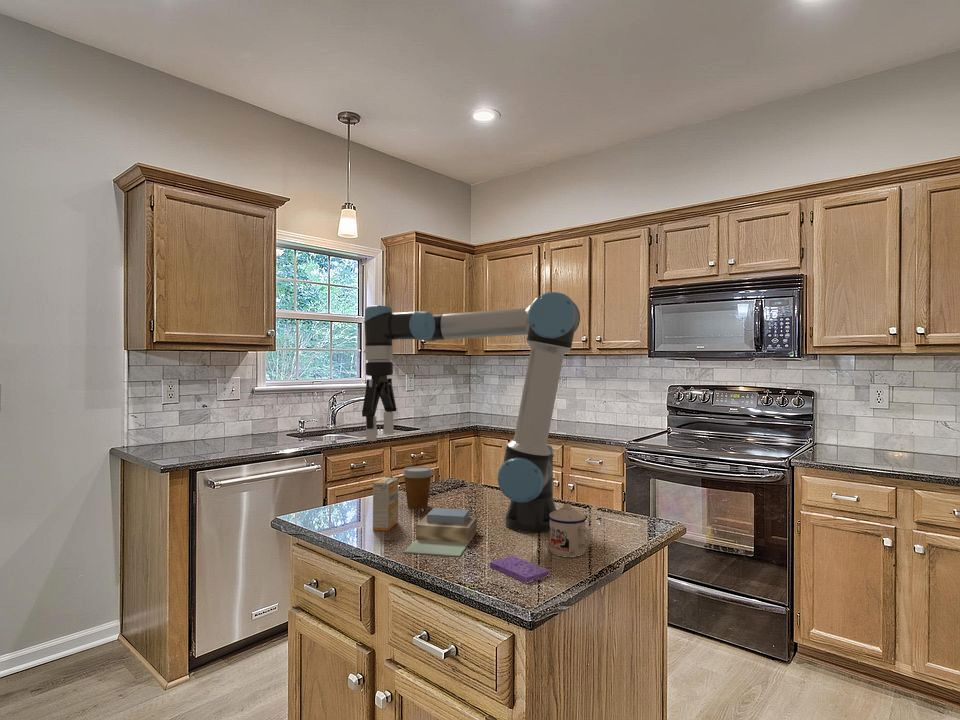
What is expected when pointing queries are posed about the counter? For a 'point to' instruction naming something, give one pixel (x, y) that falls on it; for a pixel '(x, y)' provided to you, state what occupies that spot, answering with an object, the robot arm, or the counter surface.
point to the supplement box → (385, 503)
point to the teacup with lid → (568, 532)
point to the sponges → (519, 568)
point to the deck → (446, 531)
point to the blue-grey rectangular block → (448, 516)
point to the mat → (437, 548)
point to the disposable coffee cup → (417, 486)
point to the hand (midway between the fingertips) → (380, 437)
